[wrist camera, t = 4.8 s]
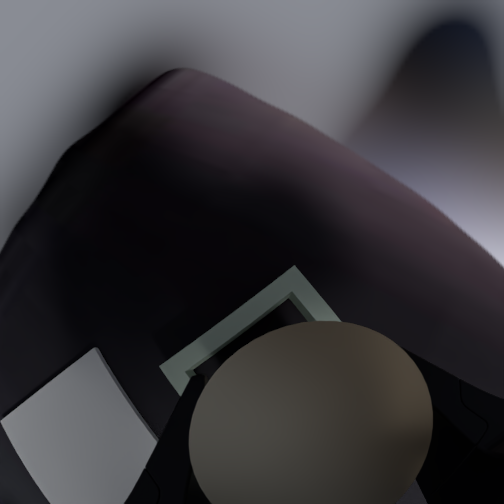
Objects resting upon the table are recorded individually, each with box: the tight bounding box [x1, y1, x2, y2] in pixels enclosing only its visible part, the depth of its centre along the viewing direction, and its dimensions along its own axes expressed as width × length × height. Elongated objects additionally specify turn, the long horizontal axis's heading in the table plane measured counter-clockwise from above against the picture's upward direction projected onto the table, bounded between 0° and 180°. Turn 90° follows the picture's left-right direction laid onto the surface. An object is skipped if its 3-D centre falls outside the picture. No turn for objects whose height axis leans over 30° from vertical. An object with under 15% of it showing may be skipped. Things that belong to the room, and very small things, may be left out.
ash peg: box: [189, 321, 433, 504], centre depth 10 cm, size 4×4×11 cm
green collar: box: [159, 265, 341, 396], centre depth 16 cm, size 9×9×2 cm
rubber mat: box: [1, 348, 159, 504], centre depth 14 cm, size 12×12×1 cm
